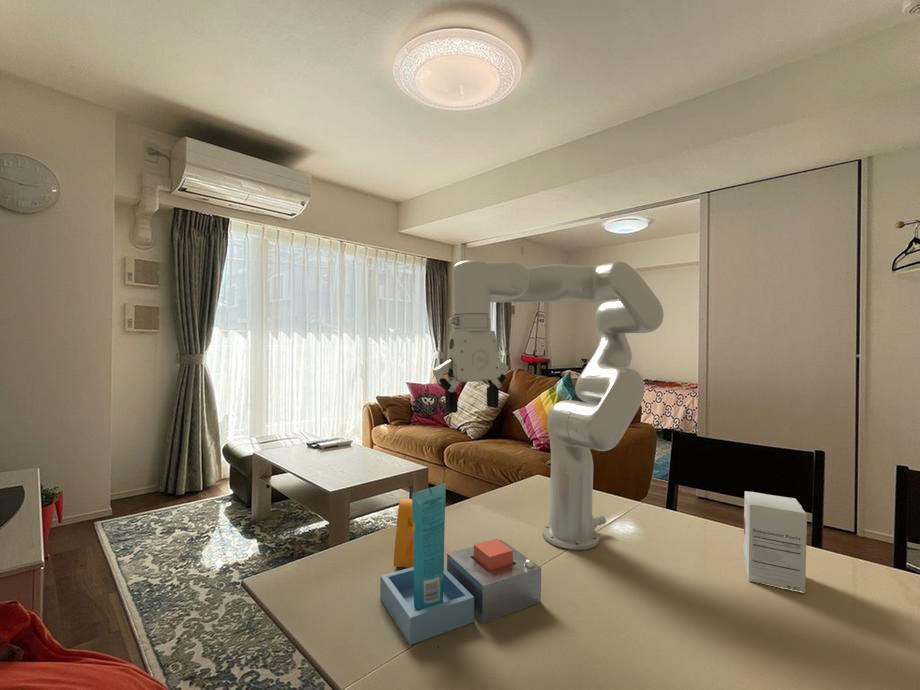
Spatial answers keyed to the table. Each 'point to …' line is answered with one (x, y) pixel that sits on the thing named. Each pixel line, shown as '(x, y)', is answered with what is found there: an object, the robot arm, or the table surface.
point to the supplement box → (775, 540)
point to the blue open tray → (429, 620)
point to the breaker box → (497, 583)
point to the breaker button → (493, 555)
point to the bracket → (404, 535)
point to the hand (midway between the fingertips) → (472, 409)
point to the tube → (428, 545)
